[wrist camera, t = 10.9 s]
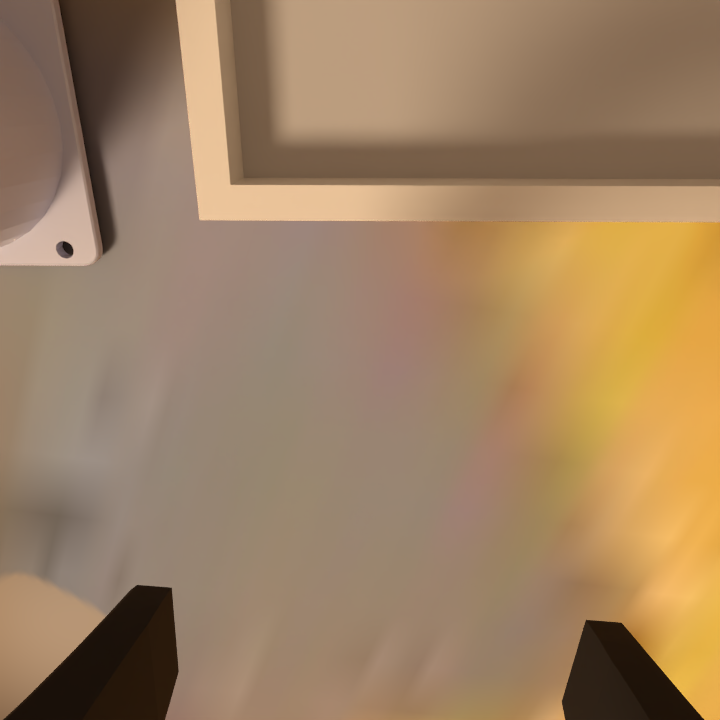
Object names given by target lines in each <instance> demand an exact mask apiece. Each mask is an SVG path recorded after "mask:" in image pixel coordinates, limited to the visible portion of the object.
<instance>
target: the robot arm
mask: <svg viewBox="0 0 720 720" xmlns="http://www.w3.org/2000/svg"><path fill="white" fill-rule="evenodd" d="M64 241H65V242H68V243H69V244H71V245H72V247H73V249H74V252H73V255H69V254H67V253H66V252H65V251H64V249H63V242H64ZM102 254H103V247H102V241H101V235H100V230H99V224H98V219H97V213H96V207H95V202H94V196H93V191H92V185H91V179H90V174H89V168H88V163H87V157H86V152H85V146H84V140H83V135H82V129H81V124H80V118H79V112H78V107H77V101H76V96H75V90H74V85H73V79H72V73H71V68H70V62H69V57H68V51H67V45H66V40H65V34H64V29H63V23H62V18H61V12H60V6H59V1H58V0H0V265H42V266H86V265H91V264H93V263H95V262H96V261H98V260H99V259H100V258H101V256H102ZM177 675H178V659H177V647H176V635H175V623H174V611H173V599H172V588H168V587H155V586H142V585H137V586H135V587H134V588H133V589H131V590H130V591H129V592H128V594H127V595H126V596H125V597H124V598H123V599H122V600H121V601H120V602H119V603H118V604H117V605H116V606H115V608H114V609H113V610H112V611H111V612H110V613H109V614H108V615H107V616H106V617H105V618H104V619H103V620H102V622H101V623H100V624H99V625H98V626H97V627H96V628H95V629H94V630H93V631H92V632H91V633H90V634H89V635H88V636H87V637H86V639H85V640H84V641H83V642H82V643H81V644H80V645H79V646H78V647H77V648H76V649H75V650H74V651H73V652H72V653H71V654H70V655H69V656H68V657H67V658H66V659H65V660H64V661H63V662H62V663H61V664H60V665H59V666H58V667H57V668H56V669H55V670H54V671H53V672H52V673H51V674H50V675H49V676H48V677H47V678H46V679H45V680H44V681H43V682H42V683H41V684H40V685H39V686H38V687H37V688H36V689H35V690H34V691H33V692H32V693H31V694H30V695H29V696H28V697H27V698H26V699H25V700H24V701H23V702H22V703H21V704H20V705H19V706H18V707H17V708H16V709H15V710H13V711H12V712H11V713H10V714H9V715H8V716H7V717H6V718H5V719H4V720H165V717H166V714H167V711H168V707H169V704H170V700H171V696H172V693H173V689H174V686H175V682H176V679H177ZM562 705H563V710H564V715H565V720H704V719H703V718H702V717H701V716H700V714H699V713H698V712H697V711H696V710H695V709H694V708H693V706H692V705H691V704H690V703H689V702H688V701H687V699H686V698H685V697H684V696H683V695H682V694H681V692H680V691H679V690H678V689H677V688H676V687H675V685H674V684H673V683H672V682H671V681H670V680H669V678H668V677H667V676H666V675H665V674H664V672H663V671H662V670H661V669H660V668H659V667H658V665H657V664H656V663H655V662H654V661H653V659H652V658H651V657H650V656H649V655H648V654H647V652H646V651H645V650H644V649H643V648H642V646H641V645H640V644H639V643H638V642H637V640H636V639H635V638H634V637H633V636H632V635H631V633H630V632H629V631H628V630H627V629H626V628H625V626H624V625H623V624H622V623H618V622H605V621H592V620H586V622H585V625H584V628H583V632H582V635H581V639H580V642H579V645H578V649H577V652H576V656H575V659H574V662H573V666H572V669H571V673H570V676H569V679H568V683H567V686H566V689H565V693H564V696H563V700H562Z"/></svg>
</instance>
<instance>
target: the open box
mask: <svg viewBox="0 0 720 720" xmlns="http://www.w3.org/2000/svg"><path fill="white" fill-rule="evenodd" d="M176 8H177V17H178V27H179V36H180V45H181V54H182V63H183V72H184V81H185V91H186V100H187V109H188V118H189V127H190V136H191V145H192V155H193V164H194V173H195V182H196V191H197V200H198V209H199V219H200V220H290V221H533V222H720V0H176Z"/></svg>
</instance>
